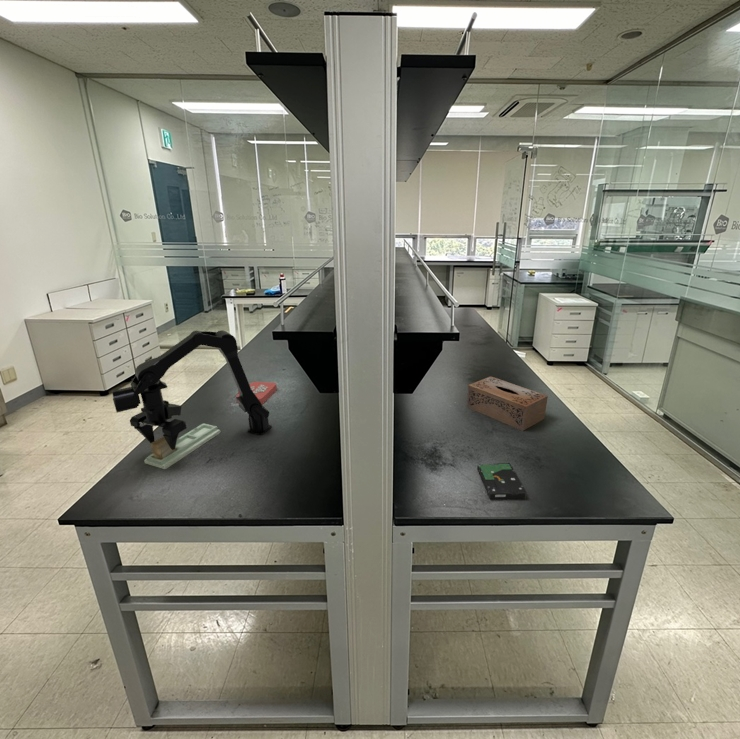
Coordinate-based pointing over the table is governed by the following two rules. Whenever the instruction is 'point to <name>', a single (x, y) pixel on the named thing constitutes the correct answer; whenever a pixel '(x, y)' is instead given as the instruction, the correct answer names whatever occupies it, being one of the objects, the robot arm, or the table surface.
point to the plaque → (262, 390)
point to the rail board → (185, 445)
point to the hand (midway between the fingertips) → (163, 446)
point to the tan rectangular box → (161, 448)
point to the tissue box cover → (507, 402)
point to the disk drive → (501, 481)
